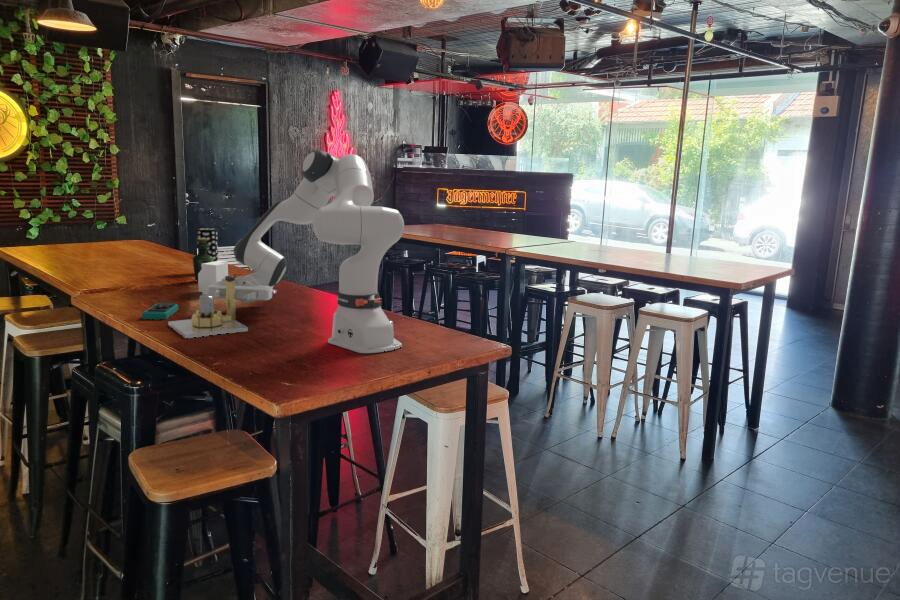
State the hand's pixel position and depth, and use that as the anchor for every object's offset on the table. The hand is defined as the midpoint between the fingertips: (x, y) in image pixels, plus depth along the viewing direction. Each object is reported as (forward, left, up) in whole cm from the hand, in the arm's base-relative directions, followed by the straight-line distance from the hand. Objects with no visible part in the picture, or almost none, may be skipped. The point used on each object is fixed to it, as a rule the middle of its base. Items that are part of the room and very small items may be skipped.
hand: (231, 296), depth 201 cm
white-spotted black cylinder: (+94, -22, -9) cm, 97 cm away
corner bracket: (+49, -10, -9) cm, 51 cm away
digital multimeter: (+21, +16, -9) cm, 28 cm away
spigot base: (-4, +9, -9) cm, 13 cm away
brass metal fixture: (-3, +6, -7) cm, 10 cm away
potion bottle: (+75, -14, -9) cm, 77 cm away
